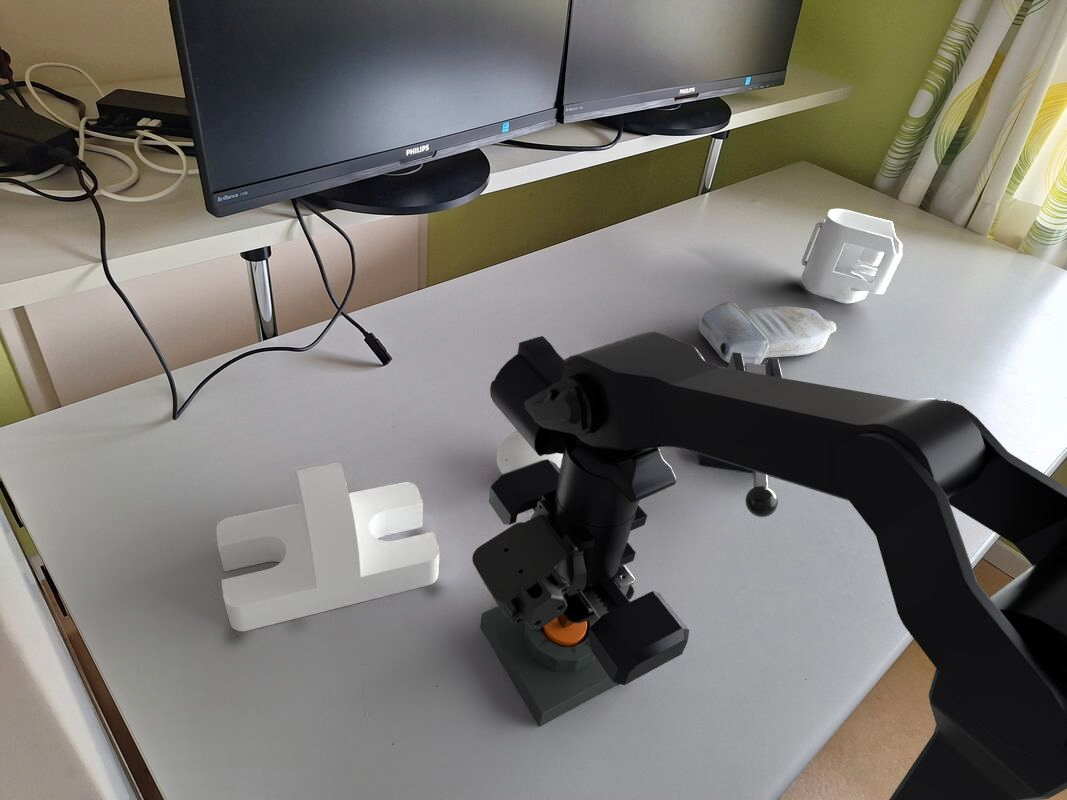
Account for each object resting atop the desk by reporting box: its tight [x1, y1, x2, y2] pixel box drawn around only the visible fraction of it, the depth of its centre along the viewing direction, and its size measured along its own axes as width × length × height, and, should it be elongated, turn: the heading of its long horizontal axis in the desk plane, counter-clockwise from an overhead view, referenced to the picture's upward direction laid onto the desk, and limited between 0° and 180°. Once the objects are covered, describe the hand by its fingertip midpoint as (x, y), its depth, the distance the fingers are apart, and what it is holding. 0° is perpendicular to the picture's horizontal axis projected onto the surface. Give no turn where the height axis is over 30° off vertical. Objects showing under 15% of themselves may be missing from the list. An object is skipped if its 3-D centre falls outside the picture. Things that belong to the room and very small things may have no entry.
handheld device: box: [698, 301, 837, 365], centre depth 103 cm, size 10×20×5 cm, turn 110°
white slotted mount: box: [215, 462, 441, 633], centre depth 66 cm, size 10×18×11 cm, turn 112°
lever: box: [744, 362, 779, 518], centre depth 78 cm, size 18×3×3 cm, turn 175°
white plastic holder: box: [800, 208, 903, 304], centre depth 113 cm, size 7×12×12 cm, turn 69°
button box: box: [479, 605, 619, 727], centre depth 64 cm, size 10×10×4 cm
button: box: [541, 618, 587, 647], centre depth 63 cm, size 4×4×2 cm
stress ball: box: [496, 430, 563, 474], centre depth 79 cm, size 8×8×7 cm
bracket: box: [697, 352, 784, 474], centre depth 85 cm, size 10×8×11 cm
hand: (565, 622), depth 62 cm, fingers closed, pressing on button
